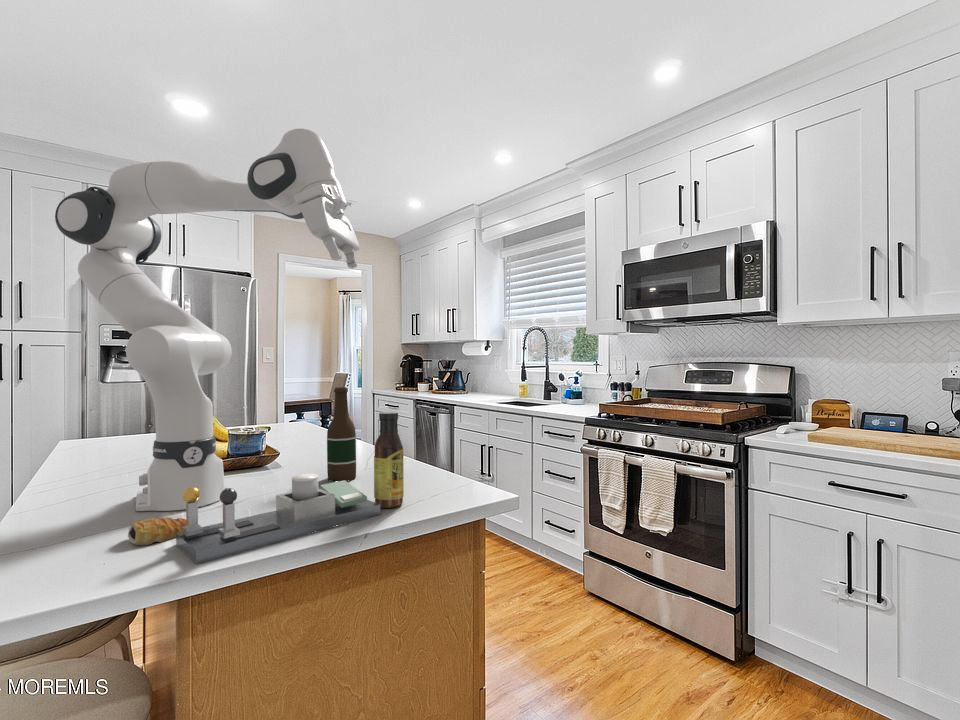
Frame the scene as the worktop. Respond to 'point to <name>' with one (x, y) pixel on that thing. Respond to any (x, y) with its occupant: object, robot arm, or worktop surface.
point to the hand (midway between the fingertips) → (345, 263)
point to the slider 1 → (192, 512)
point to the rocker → (344, 493)
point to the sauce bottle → (388, 463)
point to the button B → (305, 486)
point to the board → (274, 526)
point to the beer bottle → (341, 441)
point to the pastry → (155, 530)
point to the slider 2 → (228, 513)
